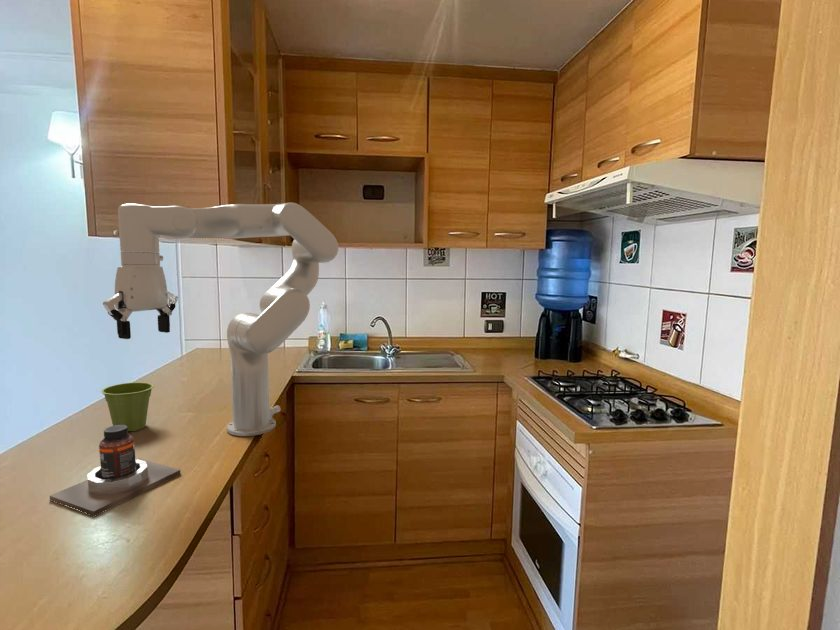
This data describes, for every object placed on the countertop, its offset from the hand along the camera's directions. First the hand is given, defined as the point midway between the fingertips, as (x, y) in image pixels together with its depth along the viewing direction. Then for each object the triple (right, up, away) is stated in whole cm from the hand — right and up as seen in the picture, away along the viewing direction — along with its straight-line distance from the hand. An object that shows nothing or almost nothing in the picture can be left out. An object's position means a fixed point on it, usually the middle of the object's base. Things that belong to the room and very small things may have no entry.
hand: (145, 335), depth 106 cm
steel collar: (+2, -30, -13) cm, 33 cm away
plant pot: (-15, -26, +18) cm, 35 cm away
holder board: (+2, -30, -13) cm, 33 cm away
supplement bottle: (+2, -29, -13) cm, 32 cm away
